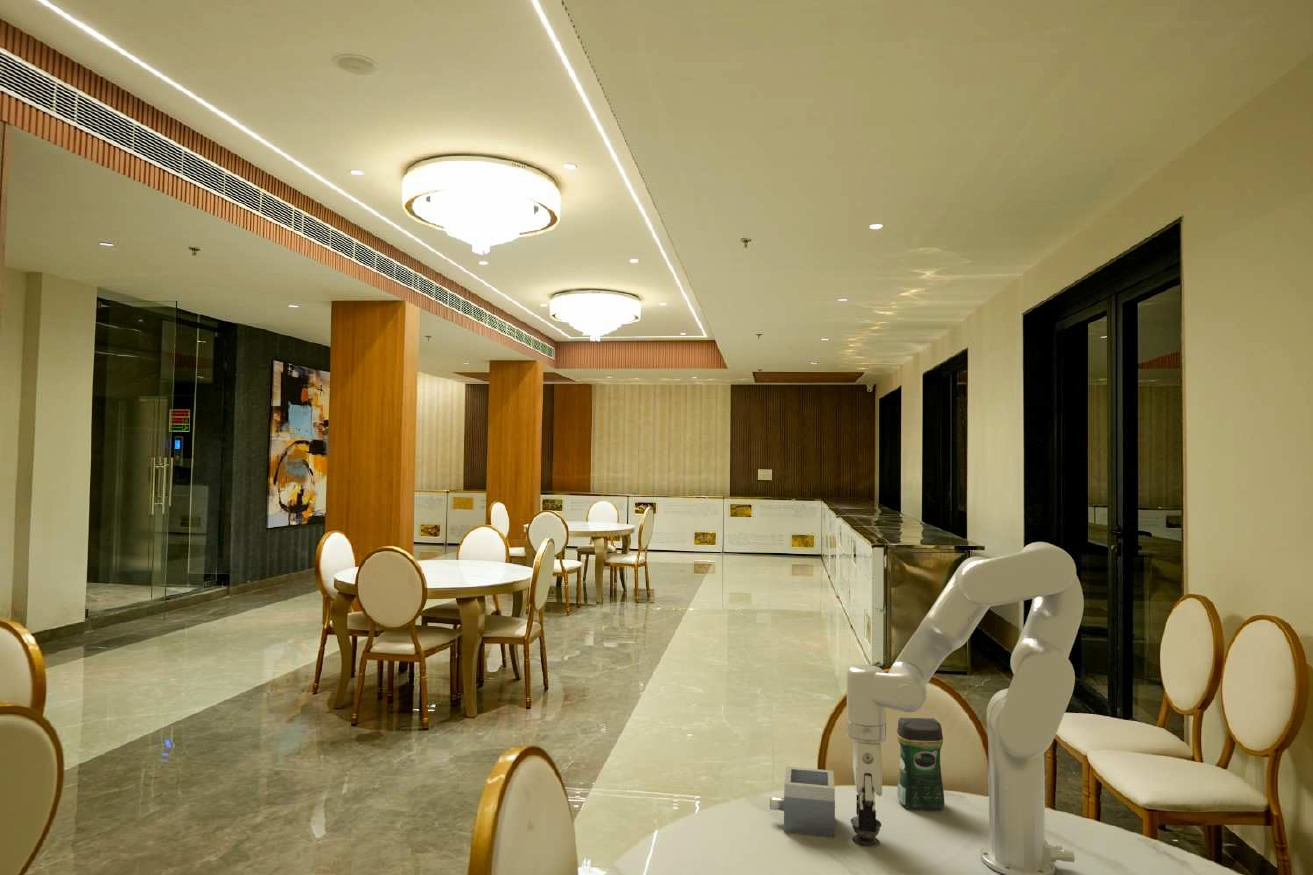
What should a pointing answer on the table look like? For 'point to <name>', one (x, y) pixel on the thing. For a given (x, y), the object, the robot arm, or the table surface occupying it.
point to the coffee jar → (920, 764)
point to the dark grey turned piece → (864, 836)
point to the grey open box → (807, 802)
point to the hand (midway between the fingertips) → (865, 822)
